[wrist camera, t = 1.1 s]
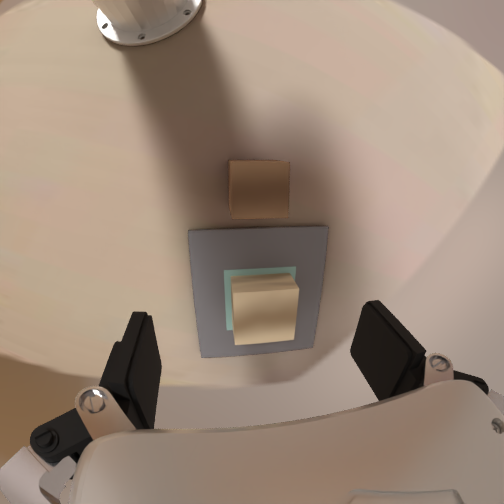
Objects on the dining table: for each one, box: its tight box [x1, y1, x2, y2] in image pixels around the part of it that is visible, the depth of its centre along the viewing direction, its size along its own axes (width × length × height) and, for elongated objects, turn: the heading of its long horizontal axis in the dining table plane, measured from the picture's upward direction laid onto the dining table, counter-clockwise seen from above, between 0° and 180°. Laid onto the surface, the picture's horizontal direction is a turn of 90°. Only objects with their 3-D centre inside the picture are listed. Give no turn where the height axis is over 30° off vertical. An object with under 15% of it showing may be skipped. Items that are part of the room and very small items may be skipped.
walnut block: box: [228, 160, 290, 219], centre depth 26 cm, size 5×5×6 cm
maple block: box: [231, 273, 299, 345], centre depth 31 cm, size 7×7×4 cm
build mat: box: [188, 226, 329, 358], centre depth 34 cm, size 18×16×1 cm
